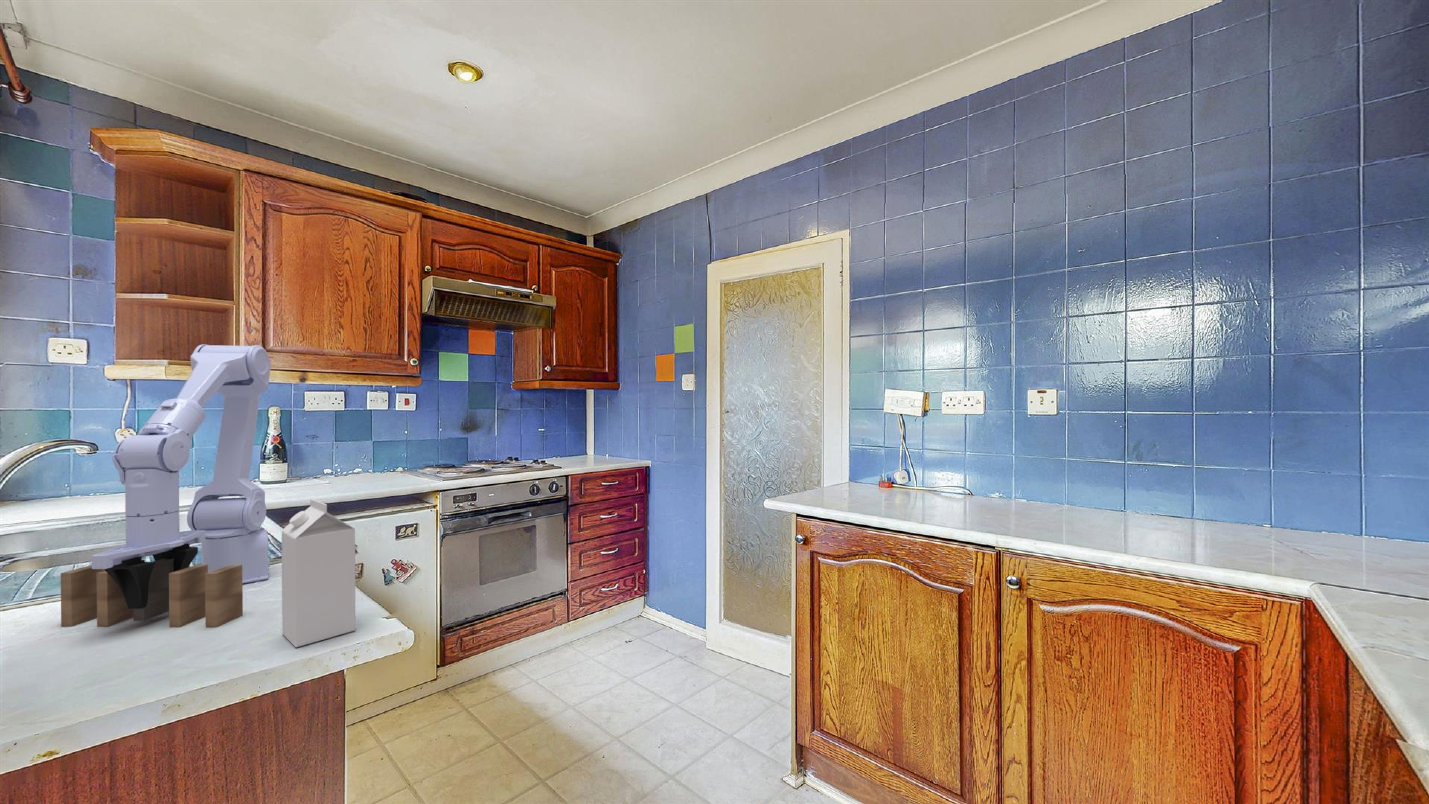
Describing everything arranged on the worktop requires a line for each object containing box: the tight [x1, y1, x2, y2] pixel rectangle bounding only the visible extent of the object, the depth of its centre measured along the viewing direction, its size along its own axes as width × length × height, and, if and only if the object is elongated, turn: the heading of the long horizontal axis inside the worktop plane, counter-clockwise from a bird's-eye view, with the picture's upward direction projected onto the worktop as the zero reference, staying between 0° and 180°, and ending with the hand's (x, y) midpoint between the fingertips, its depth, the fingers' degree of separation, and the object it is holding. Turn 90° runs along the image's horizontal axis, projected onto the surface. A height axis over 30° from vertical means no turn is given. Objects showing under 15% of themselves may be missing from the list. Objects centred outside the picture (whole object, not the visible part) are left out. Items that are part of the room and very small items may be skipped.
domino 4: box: [205, 565, 244, 629], centre depth 82 cm, size 4×2×8 cm, turn 179°
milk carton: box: [281, 498, 357, 648], centre depth 78 cm, size 7×7×19 cm
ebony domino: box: [133, 559, 174, 622], centre depth 83 cm, size 4×2×8 cm, turn 179°
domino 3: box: [168, 563, 208, 628], centre depth 83 cm, size 4×2×8 cm, turn 179°
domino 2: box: [96, 571, 134, 628], centre depth 83 cm, size 4×2×8 cm, turn 179°
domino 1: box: [60, 564, 105, 628], centre depth 83 cm, size 4×2×8 cm, turn 179°
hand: (153, 601), depth 83 cm, fingers closed on ebony domino, 4 cm apart
